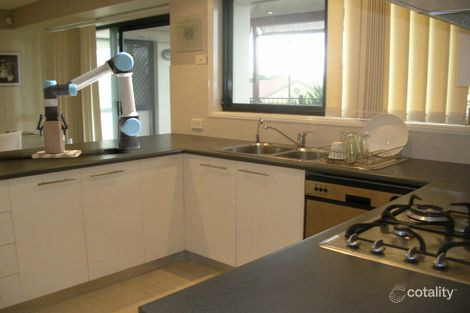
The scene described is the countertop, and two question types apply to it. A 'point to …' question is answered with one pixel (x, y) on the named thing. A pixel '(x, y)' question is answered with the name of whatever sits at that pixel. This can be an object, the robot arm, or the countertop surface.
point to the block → (53, 137)
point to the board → (57, 154)
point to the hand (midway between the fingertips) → (53, 140)
